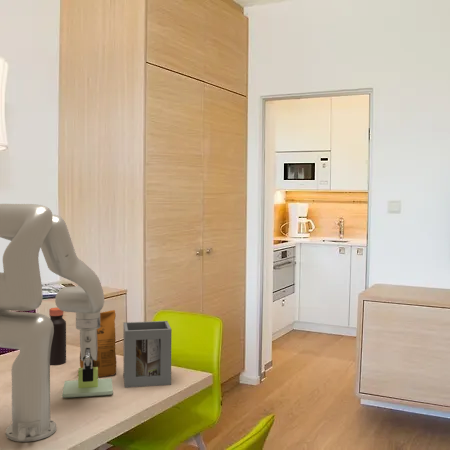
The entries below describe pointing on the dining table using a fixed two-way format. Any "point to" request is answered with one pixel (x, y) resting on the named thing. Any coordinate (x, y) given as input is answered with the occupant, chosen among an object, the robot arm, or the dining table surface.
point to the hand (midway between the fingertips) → (88, 376)
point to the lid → (87, 386)
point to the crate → (132, 334)
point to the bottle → (58, 337)
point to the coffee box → (147, 357)
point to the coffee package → (105, 345)
